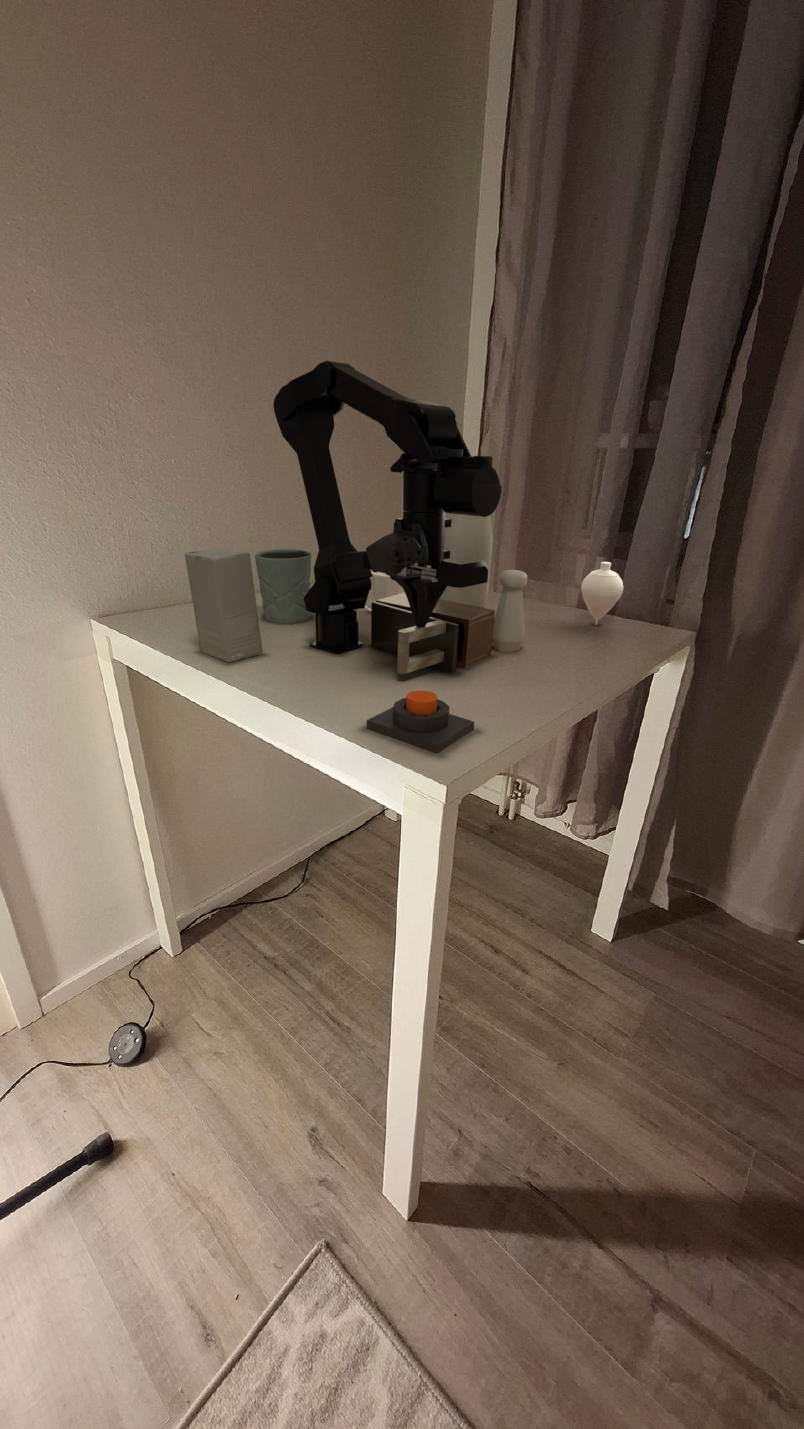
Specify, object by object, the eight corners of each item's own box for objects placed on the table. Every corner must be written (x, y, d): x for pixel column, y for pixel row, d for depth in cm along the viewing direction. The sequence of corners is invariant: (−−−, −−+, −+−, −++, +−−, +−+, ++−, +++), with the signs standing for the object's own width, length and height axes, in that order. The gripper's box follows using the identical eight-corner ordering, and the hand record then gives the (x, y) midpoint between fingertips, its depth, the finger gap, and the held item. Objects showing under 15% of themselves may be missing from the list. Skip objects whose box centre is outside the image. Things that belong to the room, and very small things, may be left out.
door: (411, 687, 85) (413, 636, 82) (329, 656, 96) (329, 610, 93) (455, 672, 92) (458, 623, 89) (374, 644, 103) (375, 600, 100)
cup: (404, 619, 119) (405, 577, 115) (352, 616, 119) (352, 574, 116) (406, 610, 125) (407, 570, 122) (357, 607, 125) (357, 567, 122)
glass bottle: (468, 611, 126) (479, 463, 115) (494, 624, 118) (509, 466, 106) (424, 614, 122) (431, 462, 111) (448, 628, 114) (459, 465, 102)
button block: (366, 729, 73) (366, 706, 71) (405, 708, 79) (406, 687, 77) (437, 754, 67) (438, 729, 66) (473, 730, 73) (475, 707, 72)
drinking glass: (323, 618, 117) (322, 554, 112) (281, 628, 110) (278, 560, 105) (289, 608, 123) (287, 547, 118) (247, 617, 116) (243, 552, 111)
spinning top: (584, 617, 124) (593, 557, 119) (621, 624, 120) (633, 562, 115) (569, 625, 119) (579, 562, 114) (608, 632, 115) (620, 567, 110)
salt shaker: (523, 656, 100) (532, 575, 95) (487, 652, 101) (495, 573, 96) (523, 645, 105) (532, 569, 100) (490, 642, 106) (497, 566, 101)
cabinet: (465, 668, 94) (469, 619, 91) (375, 645, 103) (375, 600, 100) (490, 656, 100) (495, 609, 96) (403, 634, 109) (404, 592, 106)
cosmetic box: (263, 655, 96) (257, 552, 90) (223, 665, 91) (213, 557, 85) (233, 643, 101) (225, 544, 95) (193, 652, 96) (182, 548, 90)
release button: (399, 710, 72) (400, 696, 71) (417, 701, 74) (418, 687, 74) (425, 718, 70) (426, 704, 69) (442, 709, 72) (443, 695, 72)
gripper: (331, 508, 82) (334, 623, 88) (432, 521, 69) (428, 653, 75) (392, 504, 89) (392, 611, 95) (494, 515, 76) (486, 636, 83)
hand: (420, 626), depth 87 cm, fingers closed, pressing on door
